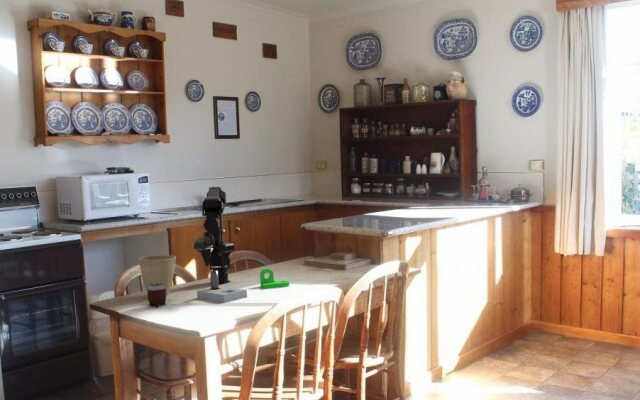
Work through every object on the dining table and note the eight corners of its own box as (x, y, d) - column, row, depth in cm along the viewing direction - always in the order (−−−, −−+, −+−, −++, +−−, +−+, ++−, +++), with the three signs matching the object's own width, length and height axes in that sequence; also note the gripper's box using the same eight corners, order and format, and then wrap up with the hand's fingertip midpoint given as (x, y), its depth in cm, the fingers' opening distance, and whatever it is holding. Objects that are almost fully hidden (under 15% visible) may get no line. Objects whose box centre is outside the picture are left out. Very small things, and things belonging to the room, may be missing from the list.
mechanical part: (263, 289, 278) (263, 270, 277) (260, 287, 284) (259, 268, 283) (291, 286, 282) (290, 268, 281) (287, 284, 287) (286, 266, 287)
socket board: (197, 298, 263) (196, 290, 263) (219, 292, 272) (219, 285, 272) (224, 302, 253) (224, 294, 253) (246, 297, 262) (246, 289, 262)
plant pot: (158, 301, 260) (156, 261, 259) (132, 297, 268) (130, 259, 267) (185, 293, 273) (183, 255, 272) (159, 291, 281) (158, 254, 280)
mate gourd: (167, 306, 250) (165, 267, 249) (145, 308, 248) (144, 268, 247) (166, 302, 257) (164, 264, 256) (145, 304, 255) (143, 266, 254)
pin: (209, 295, 265) (208, 271, 264) (215, 294, 267) (214, 269, 267) (214, 296, 263) (213, 271, 262) (220, 295, 265) (219, 270, 265)
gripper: (182, 230, 265) (184, 268, 266) (213, 232, 253) (215, 272, 254) (203, 227, 274) (205, 264, 275) (234, 229, 262) (236, 268, 263)
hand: (214, 267), depth 266 cm, fingers open, 9 cm apart
